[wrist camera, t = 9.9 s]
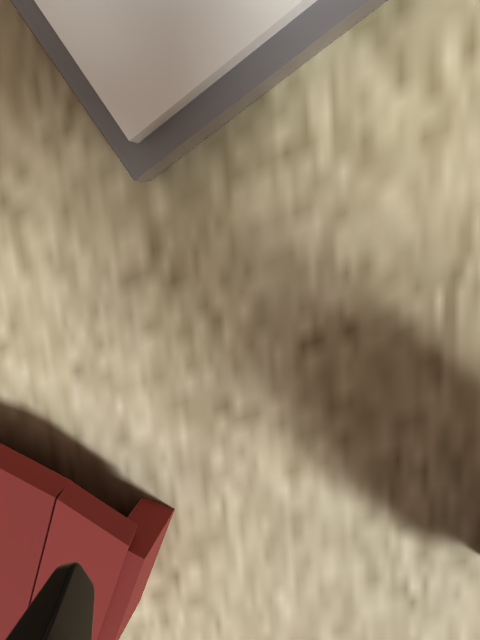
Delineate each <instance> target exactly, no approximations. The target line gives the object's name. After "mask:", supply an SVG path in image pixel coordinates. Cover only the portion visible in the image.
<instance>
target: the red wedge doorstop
mask: <svg viewBox="0 0 480 640" xmlns="http://www.w3.org/2000/svg"><path fill="white" fill-rule="evenodd" d="M173 512H174V509H173V508H170V507H168V506H165V505H162V504H160V503H157V502H154V501H151V500H149V499H146V498H143V497H142V498H141V499H140V501H139V502H138V503H137V505H136V506H135V508H134V509H133V510H132V512H131V513H130V514H129V516H128V517H127V518H126V517H125V516H123V515H122V514H120V513H119V512H117V511H116V510H114V509H113V508H111V507H110V506H108V505H107V504H105V503H104V502H102V501H101V500H99V499H98V498H96V497H95V496H93V495H92V494H90V493H89V492H87V491H86V490H84V489H83V488H81V487H80V486H78V485H77V484H75V483H74V482H72V480H70V479H68V478H66V477H64V476H62V475H60V474H58V473H57V472H55V471H53V470H51V469H49V468H47V467H45V466H43V465H41V464H39V463H38V462H36V461H34V460H32V459H30V458H28V457H26V456H24V455H22V454H20V453H18V452H17V451H15V450H13V449H11V448H9V447H7V446H5V445H3V444H1V443H0V640H5V639H6V638H7V636H8V635H9V633H10V632H11V631H12V629H13V628H14V626H15V625H16V624H17V622H18V621H19V619H20V618H21V617H22V615H23V614H24V612H25V611H26V609H27V608H28V607H29V605H30V604H31V602H32V601H33V600H34V598H35V597H36V595H37V594H38V592H39V591H40V590H41V588H42V587H43V585H44V584H45V583H46V581H47V580H48V578H49V577H50V576H51V574H52V573H53V571H54V570H55V569H56V568H57V567H58V566H60V565H63V564H67V563H71V562H78V563H80V564H81V566H82V567H83V569H84V570H85V572H86V573H87V575H88V576H89V578H90V579H91V581H92V583H93V585H94V591H95V598H94V613H93V628H92V640H119V638H120V636H121V634H122V633H123V631H124V629H125V627H126V625H127V623H128V622H129V620H130V618H131V616H132V614H133V612H134V611H135V609H136V607H137V605H138V603H139V601H140V599H141V596H142V594H143V591H144V588H145V586H146V583H147V580H148V578H149V575H150V573H151V570H152V567H153V565H154V562H155V559H156V557H157V554H158V552H159V549H160V546H161V544H162V541H163V538H164V536H165V533H166V530H167V528H168V525H169V523H170V520H171V517H172V515H173Z"/></svg>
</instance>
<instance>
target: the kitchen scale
mask: <svg viewBox="0 0 480 640" xmlns="http://www.w3.org/2000/svg"><path fill="white" fill-rule="evenodd" d="M386 1H387V0H11V2H12V3H13V5H14V6H15V8H16V9H17V11H18V12H19V14H20V15H21V16H22V18H23V19H24V21H25V22H26V24H27V25H28V27H29V28H30V30H31V31H32V32H33V34H34V35H35V37H36V38H37V40H38V41H39V43H40V44H41V46H42V47H43V48H44V50H45V51H46V53H47V54H48V56H49V57H50V59H51V60H52V62H53V63H54V64H55V66H56V67H57V69H58V70H59V72H60V73H61V75H62V76H63V78H64V79H65V80H66V82H67V83H68V85H69V86H70V88H71V89H72V91H73V92H74V94H75V95H76V96H77V98H78V99H79V101H80V102H81V104H82V105H83V107H84V108H85V110H86V111H87V112H88V114H89V115H90V117H91V118H92V120H93V121H94V123H95V124H96V126H97V127H98V129H99V130H100V131H101V133H102V134H103V136H104V137H105V139H106V140H107V142H108V143H109V145H110V146H111V147H112V149H113V150H114V152H115V153H116V155H117V156H118V158H119V159H120V161H121V162H122V163H123V165H124V166H125V168H126V169H127V171H128V172H129V174H130V175H131V177H132V178H133V179H134V181H150V180H152V179H153V178H154V177H156V176H157V175H158V174H160V173H161V172H162V171H164V170H165V169H166V168H167V167H169V166H170V165H171V164H173V163H174V162H175V161H177V160H178V159H179V158H181V157H182V156H183V155H185V154H186V153H187V152H189V151H190V150H191V149H192V148H194V147H195V146H196V145H198V144H199V143H200V142H202V141H203V140H204V139H206V138H207V137H208V136H210V135H211V134H212V133H214V132H215V131H216V130H217V129H219V128H220V127H221V126H223V125H224V124H225V123H227V122H228V121H229V120H231V119H232V118H233V117H235V116H236V115H237V114H238V113H240V112H241V111H242V110H244V109H245V108H246V107H248V106H249V105H250V104H252V103H253V102H254V101H256V100H257V99H258V98H260V97H261V96H262V95H263V94H265V93H266V92H267V91H269V90H270V89H271V88H273V87H274V86H275V85H277V84H278V83H279V82H281V81H282V80H283V79H284V78H286V77H287V76H288V75H290V74H291V73H292V72H294V71H295V70H296V69H298V68H299V67H300V66H302V65H303V64H304V63H306V62H307V61H308V60H309V59H311V58H312V57H313V56H315V55H316V54H317V53H319V52H320V51H321V50H323V49H324V48H325V47H327V46H328V45H329V44H331V43H332V42H333V41H334V40H336V39H337V38H338V37H340V36H341V35H342V34H344V33H345V32H346V31H348V30H349V29H350V28H352V27H353V26H354V25H355V24H357V23H358V22H359V21H361V20H362V19H363V18H365V17H366V16H367V15H369V14H370V13H371V12H373V11H374V10H375V9H377V8H378V7H379V6H380V5H382V4H383V3H384V2H386Z"/></svg>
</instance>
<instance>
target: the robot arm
mask: <svg viewBox="0 0 480 640" xmlns="http://www.w3.org/2000/svg"><path fill="white" fill-rule="evenodd" d="M94 598H95V591H94V585H93V583H92V581H91V579H90V578H89V576H88V575H87V573H86V572H85V570H84V569H83V567H82V566H81V564H80V563H78V562H71V563H67V564H63V565H60V566H58V567H57V568H56V569H55V570H54V571H53V573H52V574H51V576H50V577H49V578H48V580H47V581H46V583H45V584H44V585H43V587H42V588H41V590H40V591H39V592H38V594H37V595H36V597H35V598H34V600H33V601H32V602H31V604H30V605H29V607H28V608H27V609H26V611H25V612H24V614H23V615H22V617H21V618H20V619H19V621H18V622H17V624H16V625H15V626H14V628H13V629H12V631H11V632H10V633H9V635H8V636H7V638H6V639H5V640H92V628H93V613H94Z"/></svg>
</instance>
